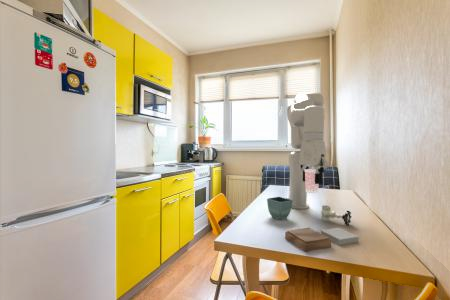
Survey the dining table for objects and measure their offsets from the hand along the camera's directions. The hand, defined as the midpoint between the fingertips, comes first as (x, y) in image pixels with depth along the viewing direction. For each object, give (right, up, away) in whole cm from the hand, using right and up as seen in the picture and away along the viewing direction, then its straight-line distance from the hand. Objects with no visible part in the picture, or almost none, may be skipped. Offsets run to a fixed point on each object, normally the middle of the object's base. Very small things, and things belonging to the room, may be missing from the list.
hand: (312, 182), depth 88 cm
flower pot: (-9, -20, +17) cm, 28 cm away
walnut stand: (-5, -20, -9) cm, 23 cm away
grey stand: (+8, -21, -5) cm, 23 cm away
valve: (+16, -21, +13) cm, 29 cm away
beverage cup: (0, -4, 0) cm, 4 cm away
